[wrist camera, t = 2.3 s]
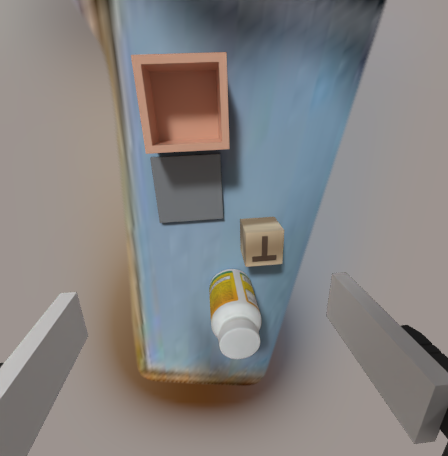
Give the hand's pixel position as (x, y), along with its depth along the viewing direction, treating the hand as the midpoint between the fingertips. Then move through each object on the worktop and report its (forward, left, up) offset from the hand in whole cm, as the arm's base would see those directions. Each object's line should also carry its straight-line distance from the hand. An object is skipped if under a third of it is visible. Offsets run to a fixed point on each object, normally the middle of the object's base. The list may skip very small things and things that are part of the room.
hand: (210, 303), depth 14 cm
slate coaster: (-2, -1, -17) cm, 17 cm away
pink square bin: (-10, -1, -17) cm, 20 cm away
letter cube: (+4, +6, -17) cm, 19 cm away
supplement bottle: (+11, +3, -17) cm, 21 cm away
